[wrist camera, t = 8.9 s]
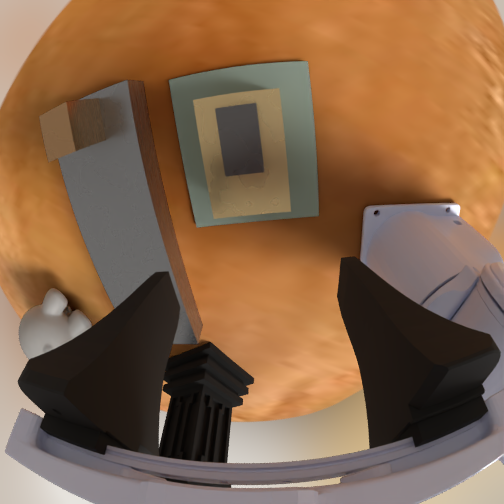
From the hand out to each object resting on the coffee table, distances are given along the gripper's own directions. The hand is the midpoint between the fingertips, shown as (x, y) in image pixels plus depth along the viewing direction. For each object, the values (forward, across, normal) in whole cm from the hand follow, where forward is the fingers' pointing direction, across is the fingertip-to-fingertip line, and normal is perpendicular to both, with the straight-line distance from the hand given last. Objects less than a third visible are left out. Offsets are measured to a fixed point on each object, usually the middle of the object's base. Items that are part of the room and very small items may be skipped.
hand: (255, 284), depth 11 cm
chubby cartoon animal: (+10, +24, +11) cm, 29 cm away
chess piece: (+10, +8, +20) cm, 24 cm away
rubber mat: (+10, 0, -4) cm, 10 cm away
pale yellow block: (+9, 0, -4) cm, 10 cm away
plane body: (+10, +10, +1) cm, 14 cm away
